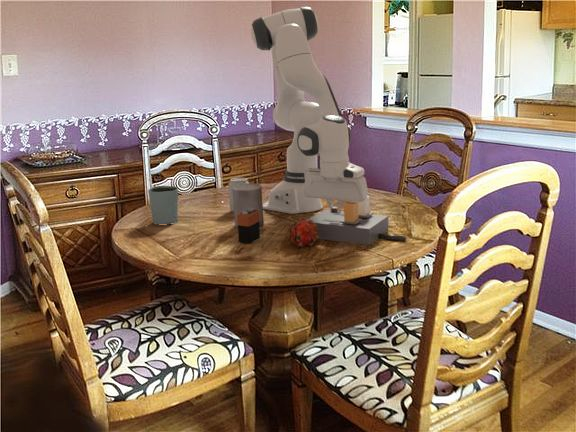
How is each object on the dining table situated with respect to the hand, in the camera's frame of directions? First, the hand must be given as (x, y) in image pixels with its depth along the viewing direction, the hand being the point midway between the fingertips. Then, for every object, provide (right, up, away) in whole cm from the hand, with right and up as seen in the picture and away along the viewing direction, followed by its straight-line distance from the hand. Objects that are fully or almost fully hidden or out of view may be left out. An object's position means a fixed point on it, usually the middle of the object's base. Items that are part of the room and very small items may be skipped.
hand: (335, 213), depth 199 cm
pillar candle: (-28, -4, +17) cm, 33 cm away
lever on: (+9, -1, +4) cm, 10 cm away
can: (-32, +1, +37) cm, 49 cm away
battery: (-27, -9, +1) cm, 28 cm away
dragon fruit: (-10, -10, -6) cm, 15 cm away
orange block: (+5, -3, -3) cm, 6 cm away
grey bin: (-58, -3, +25) cm, 63 cm away
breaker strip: (+8, -7, +2) cm, 10 cm away
